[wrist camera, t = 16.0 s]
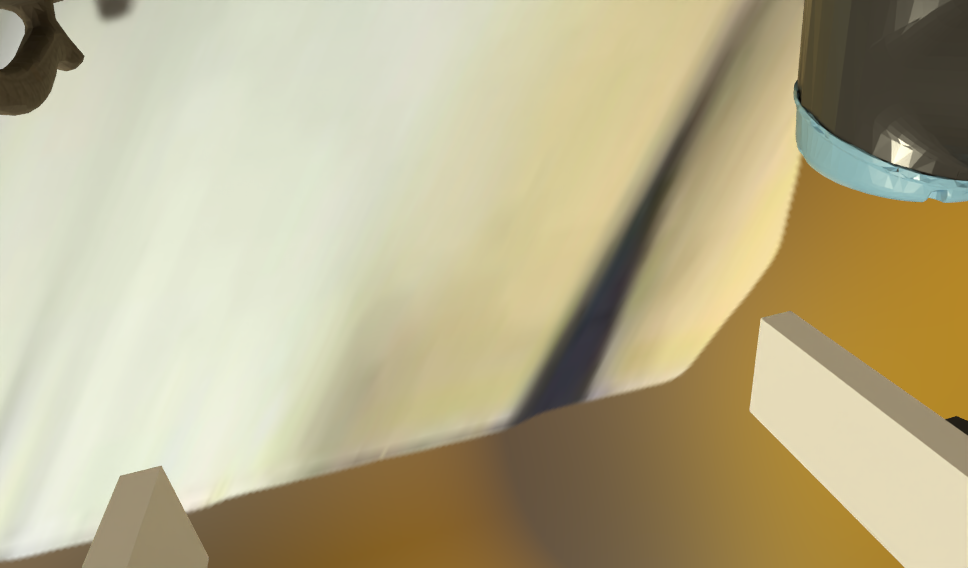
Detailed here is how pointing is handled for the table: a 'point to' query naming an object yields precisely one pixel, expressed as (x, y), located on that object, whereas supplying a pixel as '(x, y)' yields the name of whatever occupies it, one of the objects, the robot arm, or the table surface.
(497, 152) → the table surface
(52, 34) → the beer stein
